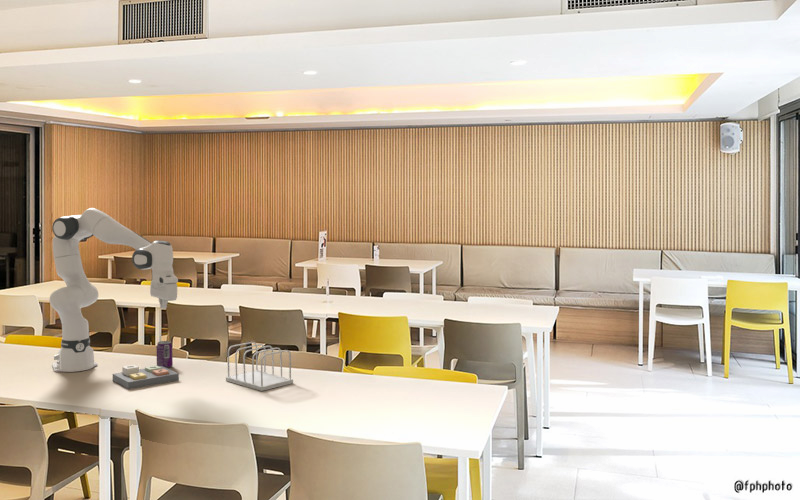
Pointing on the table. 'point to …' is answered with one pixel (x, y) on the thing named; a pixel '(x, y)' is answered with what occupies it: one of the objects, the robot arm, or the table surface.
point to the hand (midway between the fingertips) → (163, 308)
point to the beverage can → (164, 354)
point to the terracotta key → (160, 372)
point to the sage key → (152, 368)
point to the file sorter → (259, 378)
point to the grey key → (130, 370)
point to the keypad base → (145, 379)
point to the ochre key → (137, 376)
